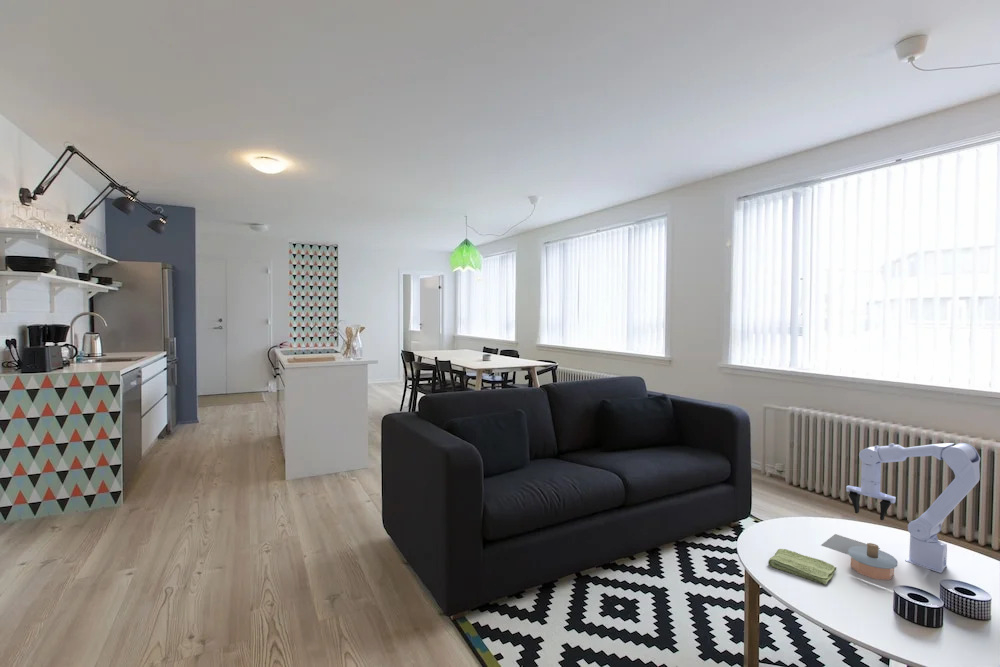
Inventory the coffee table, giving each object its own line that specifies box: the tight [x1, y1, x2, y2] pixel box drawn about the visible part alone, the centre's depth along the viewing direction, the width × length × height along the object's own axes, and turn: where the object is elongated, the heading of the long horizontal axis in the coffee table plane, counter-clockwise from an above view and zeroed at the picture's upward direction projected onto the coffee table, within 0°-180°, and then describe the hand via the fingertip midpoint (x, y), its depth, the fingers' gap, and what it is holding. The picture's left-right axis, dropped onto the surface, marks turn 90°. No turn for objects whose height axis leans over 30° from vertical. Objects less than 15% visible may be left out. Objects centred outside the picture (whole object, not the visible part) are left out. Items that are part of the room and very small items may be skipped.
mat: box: [821, 533, 881, 556], centre depth 178 cm, size 14×14×1 cm
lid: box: [847, 542, 899, 569], centre depth 162 cm, size 13×13×4 cm
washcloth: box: [767, 548, 837, 585], centre depth 164 cm, size 13×18×3 cm
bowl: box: [850, 557, 895, 581], centre depth 162 cm, size 11×11×4 cm
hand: (869, 515), depth 181 cm, fingers open, 7 cm apart
